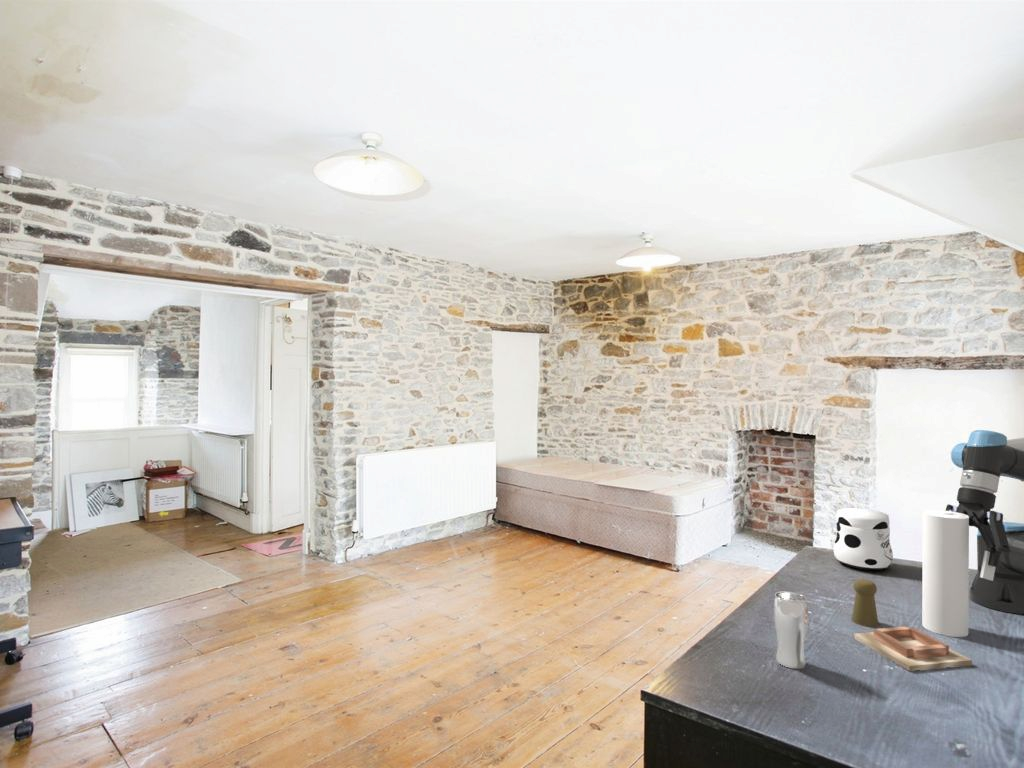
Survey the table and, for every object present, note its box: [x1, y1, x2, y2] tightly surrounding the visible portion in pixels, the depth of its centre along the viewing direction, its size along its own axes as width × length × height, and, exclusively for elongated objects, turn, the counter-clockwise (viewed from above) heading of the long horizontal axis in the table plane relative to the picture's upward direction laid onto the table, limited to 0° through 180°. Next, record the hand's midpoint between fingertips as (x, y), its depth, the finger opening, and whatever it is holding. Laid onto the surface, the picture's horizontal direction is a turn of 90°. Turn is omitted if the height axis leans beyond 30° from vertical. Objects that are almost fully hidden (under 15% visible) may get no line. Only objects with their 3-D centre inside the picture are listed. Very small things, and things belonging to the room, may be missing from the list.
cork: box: [851, 578, 879, 628], centre depth 149 cm, size 6×6×11 cm
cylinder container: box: [921, 509, 970, 638], centre depth 145 cm, size 9×9×30 cm
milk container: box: [833, 507, 894, 571], centre depth 194 cm, size 17×17×18 cm
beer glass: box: [773, 590, 809, 670], centre depth 128 cm, size 7×7×15 cm
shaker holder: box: [853, 625, 973, 672], centre depth 133 cm, size 16×16×3 cm
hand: (961, 572), depth 143 cm, fingers open, 13 cm apart
